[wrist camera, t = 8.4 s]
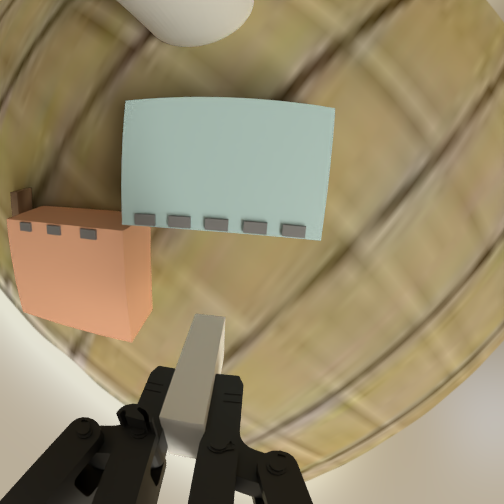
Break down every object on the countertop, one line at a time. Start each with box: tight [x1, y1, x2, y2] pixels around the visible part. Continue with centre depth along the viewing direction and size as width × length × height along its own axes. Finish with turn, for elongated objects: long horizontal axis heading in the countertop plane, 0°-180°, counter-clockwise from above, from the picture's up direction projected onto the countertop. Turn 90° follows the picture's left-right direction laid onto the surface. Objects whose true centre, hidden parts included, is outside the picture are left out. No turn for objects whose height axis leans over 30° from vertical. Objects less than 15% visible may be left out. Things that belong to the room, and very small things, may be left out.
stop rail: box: [11, 188, 33, 217], centre depth 21 cm, size 11×1×2 cm, turn 175°
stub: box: [7, 206, 153, 342], centre depth 19 cm, size 8×11×5 cm
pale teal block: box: [121, 97, 335, 241], centre depth 16 cm, size 7×11×5 cm, turn 86°
